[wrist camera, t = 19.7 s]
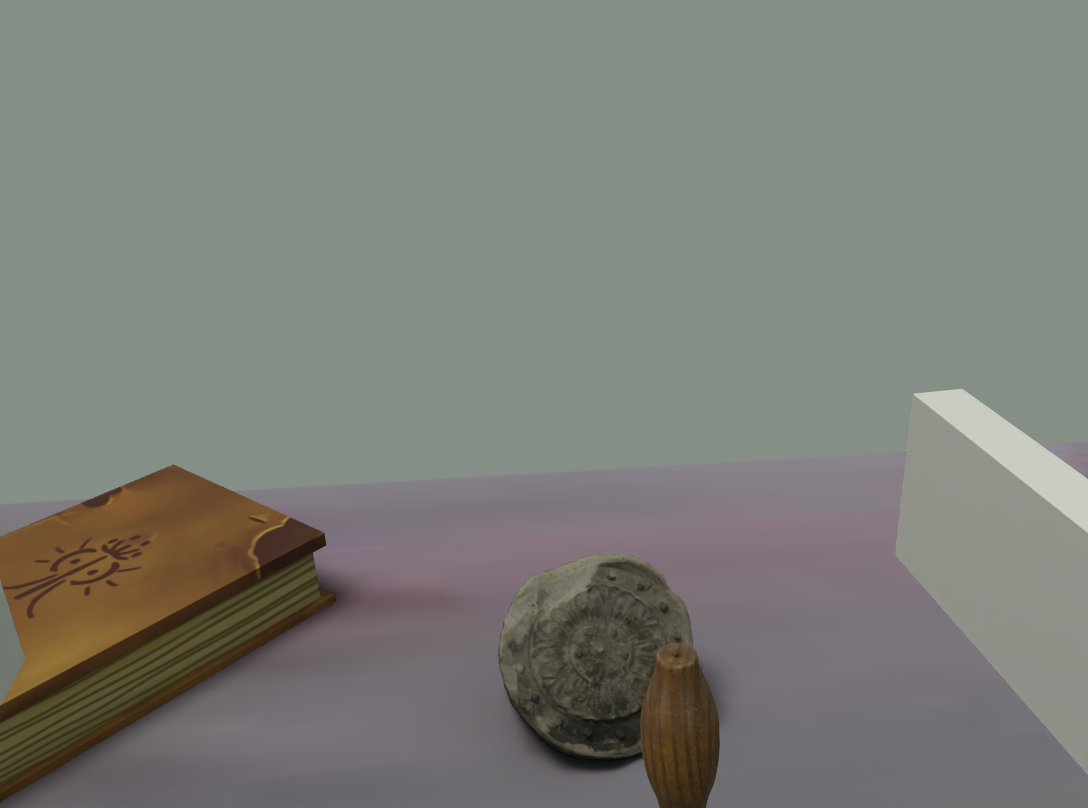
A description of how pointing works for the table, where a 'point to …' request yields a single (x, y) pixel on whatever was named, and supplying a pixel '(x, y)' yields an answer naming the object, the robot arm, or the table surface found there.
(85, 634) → the diary
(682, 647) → the hand bell
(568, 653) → the fossil
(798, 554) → the table surface
